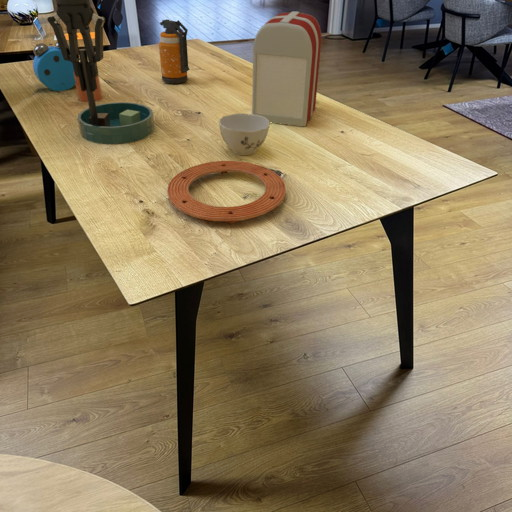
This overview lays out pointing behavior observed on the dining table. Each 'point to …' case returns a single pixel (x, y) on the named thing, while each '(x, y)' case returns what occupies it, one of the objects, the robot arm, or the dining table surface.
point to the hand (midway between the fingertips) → (89, 89)
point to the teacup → (244, 132)
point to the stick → (88, 88)
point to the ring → (192, 207)
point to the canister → (173, 52)
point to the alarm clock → (53, 67)
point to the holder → (82, 94)
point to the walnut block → (103, 119)
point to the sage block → (129, 117)
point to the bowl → (117, 124)
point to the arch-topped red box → (286, 68)
